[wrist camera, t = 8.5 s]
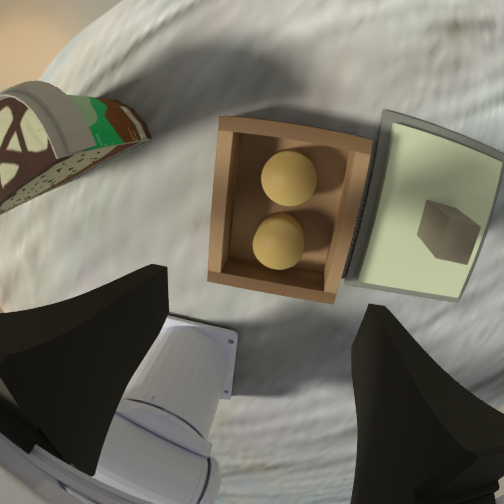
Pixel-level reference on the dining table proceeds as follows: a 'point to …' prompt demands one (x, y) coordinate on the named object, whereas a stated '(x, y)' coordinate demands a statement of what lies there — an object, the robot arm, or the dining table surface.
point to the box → (284, 206)
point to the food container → (57, 138)
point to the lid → (428, 214)
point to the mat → (374, 189)
